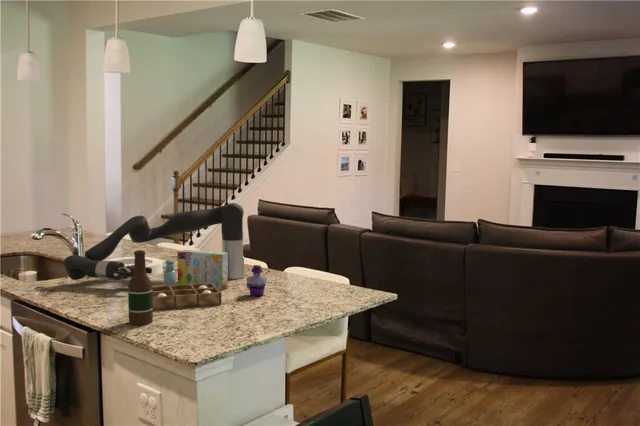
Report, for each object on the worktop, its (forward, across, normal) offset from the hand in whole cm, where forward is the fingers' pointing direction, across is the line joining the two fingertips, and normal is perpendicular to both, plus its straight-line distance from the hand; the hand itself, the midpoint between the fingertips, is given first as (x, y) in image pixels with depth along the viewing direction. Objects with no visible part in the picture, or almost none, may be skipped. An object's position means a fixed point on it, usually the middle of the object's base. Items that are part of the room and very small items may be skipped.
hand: (146, 272), depth 240 cm
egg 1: (+17, -19, +7) cm, 26 cm away
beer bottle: (+21, -39, +8) cm, 45 cm away
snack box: (+18, +14, +8) cm, 24 cm away
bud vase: (+11, 0, +8) cm, 13 cm away
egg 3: (+31, -9, +7) cm, 33 cm away
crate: (+22, -11, +8) cm, 25 cm away
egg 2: (+26, -3, +7) cm, 27 cm away
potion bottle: (+44, +8, +8) cm, 46 cm away
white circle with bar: (-26, +32, +8) cm, 42 cm away
